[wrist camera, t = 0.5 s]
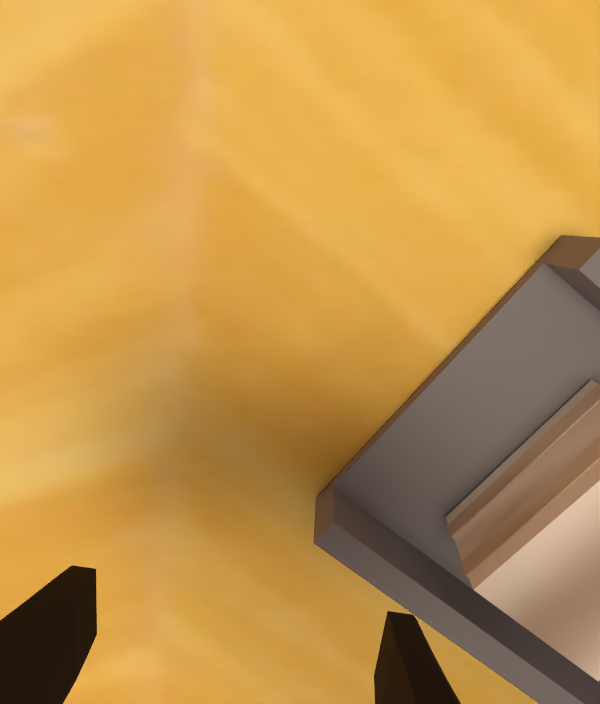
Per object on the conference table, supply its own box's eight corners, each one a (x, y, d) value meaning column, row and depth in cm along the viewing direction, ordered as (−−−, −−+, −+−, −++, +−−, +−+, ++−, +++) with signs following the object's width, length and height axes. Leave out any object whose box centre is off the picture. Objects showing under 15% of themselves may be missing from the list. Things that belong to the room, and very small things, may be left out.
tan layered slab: (701, 469, 18) (800, 536, 14) (547, 595, 20) (597, 682, 16) (591, 377, 17) (664, 421, 14) (443, 517, 20) (471, 589, 16)
